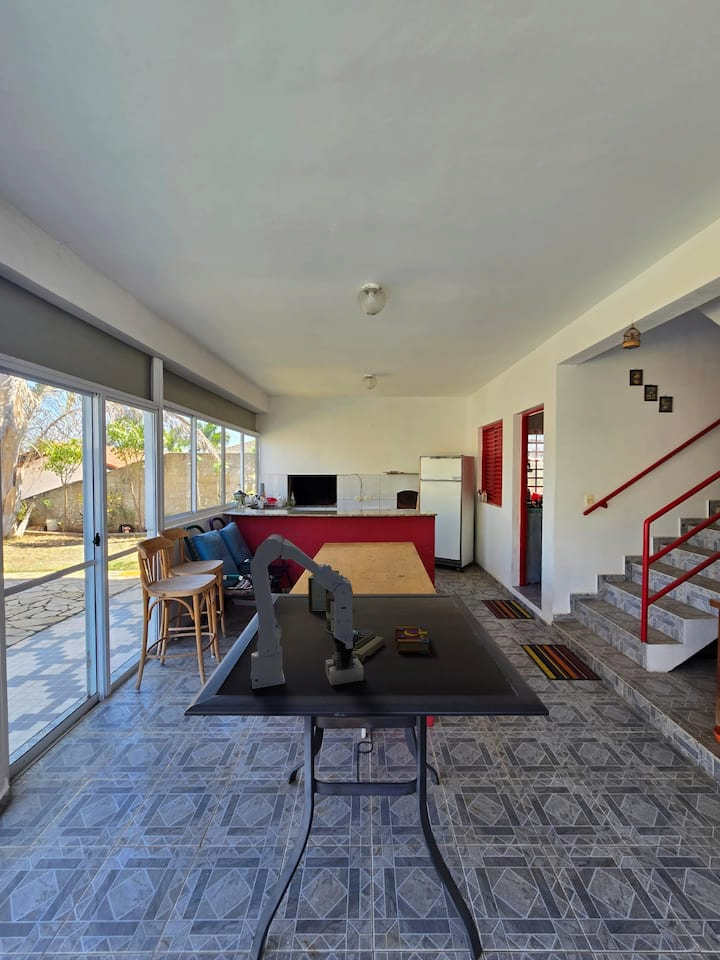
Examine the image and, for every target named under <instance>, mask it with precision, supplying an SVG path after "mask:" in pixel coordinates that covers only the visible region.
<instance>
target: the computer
mask: <svg viewBox="0 0 720 960" xmlns="http://www.w3.org/2000/svg"><path fill="white" fill-rule="evenodd" d="M367 636H368V637H367V638H366V636H364V637H365V638H364V637H362V639H360V640H357V642H355V647H354V649H353V651H352V652H354V654H355V655H356V656H357V658H358V659H359V661H360V663H363V662H364V661H365V659H366V656H367V657H368V656H369V657H371V656H372V655H373V654H375V653H376V652H377V651H378V650H379V649H381V648H383V646H385V644H386V643H385V639H384V637H382V636H375V635H367Z"/></svg>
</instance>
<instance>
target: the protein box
mask: <svg viewBox="0 0 720 960" xmlns="http://www.w3.org/2000/svg"><path fill="white" fill-rule="evenodd" d="M334 571H335V572H336V573H337V574H339V575H340V570H334ZM307 580H308V582H307V584H308V585H307V588H308V589H307V590H308V610H309V609H310V610H323V611H326V594H327V593H330V591H328V590H327V589H326V588H324V587H323V586H322V585H320V584H319V583H318V582H316V581H315V580H314V579H313V574H312V575H310V576H309V577H308V578H307Z"/></svg>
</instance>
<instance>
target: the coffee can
mask: <svg viewBox="0 0 720 960" xmlns="http://www.w3.org/2000/svg"><path fill="white" fill-rule="evenodd" d="M334 603H335V597H334V595H333V592H330V593H327V594H326V612H325V617H326V619H325V621H326V622H325V623H326V628H325V630H326V633H328V634H331V635H334Z"/></svg>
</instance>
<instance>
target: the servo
mask: <svg viewBox="0 0 720 960" xmlns="http://www.w3.org/2000/svg"><path fill="white" fill-rule="evenodd" d="M330 659H332V660H333V662H335V666H331V667H335V668H341V667H347V666H353V659H356V655H355V654H354V652H352V654H351V659H350V663H349V665H347V666H342V663H341V657H340V652H337V651H335V652H334V654H332V655H331V657H330Z"/></svg>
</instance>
